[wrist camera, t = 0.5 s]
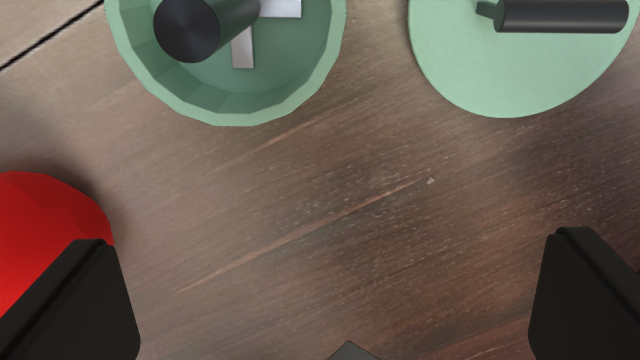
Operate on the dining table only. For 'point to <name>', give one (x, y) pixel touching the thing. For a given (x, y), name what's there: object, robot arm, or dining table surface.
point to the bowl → (216, 71)
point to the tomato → (40, 227)
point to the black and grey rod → (215, 27)
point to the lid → (516, 49)
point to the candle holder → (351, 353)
